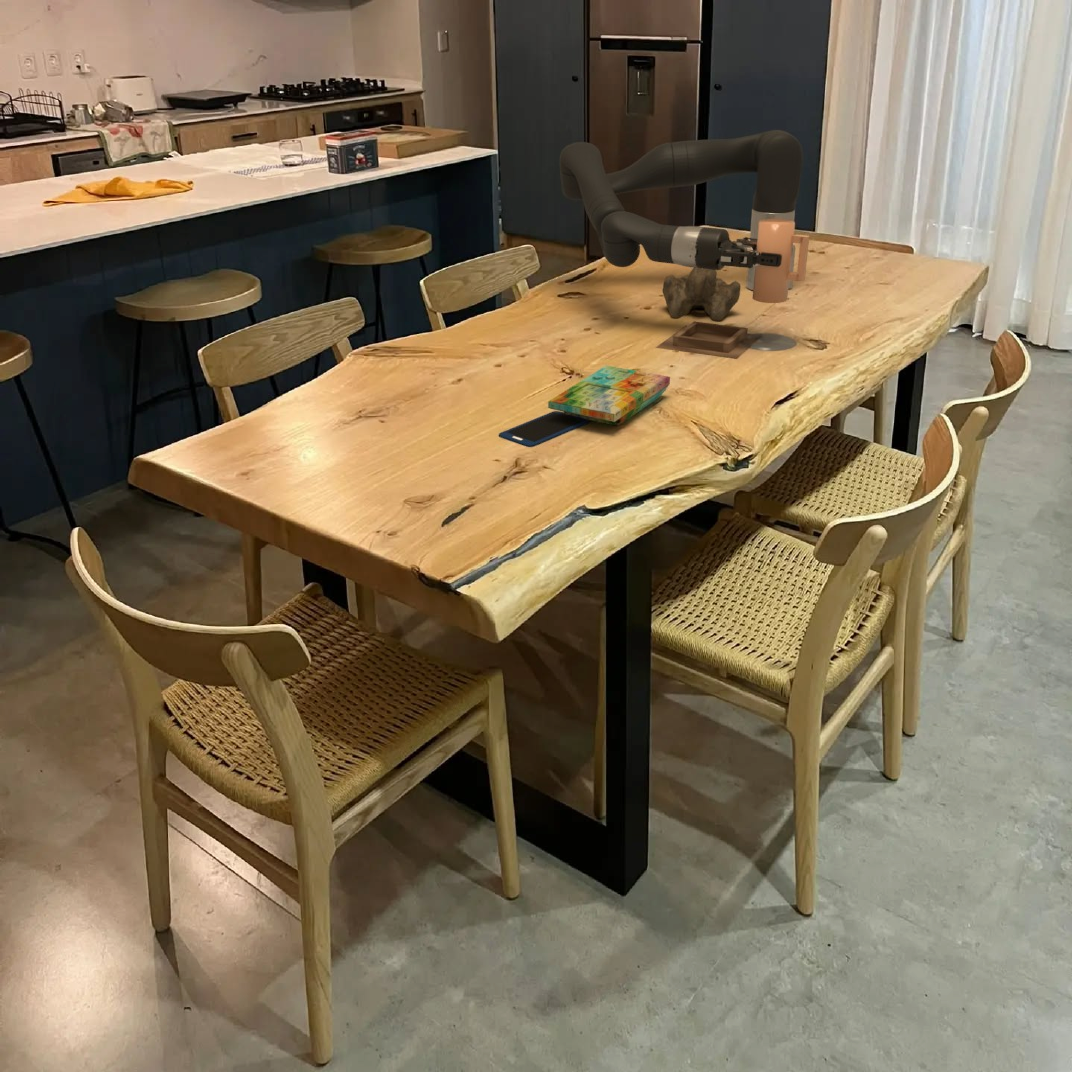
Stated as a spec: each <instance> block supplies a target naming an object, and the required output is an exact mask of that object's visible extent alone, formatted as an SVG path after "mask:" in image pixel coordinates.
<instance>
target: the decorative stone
mask: <svg viewBox="0 0 1072 1072" xmlns="http://www.w3.org/2000/svg"><path fill="white" fill-rule="evenodd" d="M717 275H718V273H717V270H711V269H702V268H694V267H692V269H691V271H690V272H689V274H687V275H684V276H681V277H680V278H679V277H678V278H677V277H676V276H675V275H672V274H669V275H668V276H666V277H665V279H664V281H663V285H662V294H663V296H664V297H663V298H664V300H665V303H666V308H667V310H668V311H669V314H670V317H671V318H673V319H679V318H680V317H683V316H687V315H689V314H690V312H691V310H692V309H701V308H703V310H704V311H705V313H706V314H707V315H708V316H709V317H710V318H711V320H712V321H716V322H721V321H722V320H723V319H724V317H725V316H727V315H728V314H729V312H730V311H731V310H732V308H733V307H734V306H735V305H736V304H737V303H738V301H739V300H740V296H741V283H740V282H739V281H736V280H735V281H733V282H731V283H729V284H728V283H727V282H726V281H724V280H723V279H722V278H719V277H718V276H717Z"/></svg>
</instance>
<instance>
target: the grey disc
mask: <svg viewBox="0 0 1072 1072" xmlns="http://www.w3.org/2000/svg"><path fill="white" fill-rule="evenodd" d="M749 334H750V335H749V336H747V338H746V340H747V339H748V340H750V339H749V338H751V337H752V338H754V339H755V338H756V339H757V338H758V340H757V342H756V340H755V342H754V344H753V343H752V344H753V345H751V344H748V343H750V342H751V341H750V342H749V341H748V342H747V341H746V340H745V339H744V340H743V341H745V342H744V343H747V344H745V345H746V347H747V346H748V345H749V346H750V345H751V347H750V348H749V349H751V350H755V351H761V352H763V351H764V352H779V351H780V352H781V351H787V350H790V349H793V348H795V347H796V346H797V344H798V343H797V341H796V340H795V339H794V338H792V337H789V336H787V335H782V334H779V333H778V334H777V333H764V332H762V333H749ZM751 334H752V335H751ZM760 335H761V336H760ZM754 336H755V337H754ZM759 338H760V339H759ZM752 342H753V341H752ZM740 344H741V345H742V346H744V347H745V345H744V344H743V342H741V343H740ZM747 348H748V347H747Z"/></svg>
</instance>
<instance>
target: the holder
mask: <svg viewBox="0 0 1072 1072" xmlns="http://www.w3.org/2000/svg"><path fill="white" fill-rule="evenodd" d="M750 334H751V335H752V334H753V333H748V327H744V326H743V327H742V326H741V327H740V326H733V325H726V324H725V325H724V324H719V323H710V322H703V321H701V322H700V321H694V320H693V321H692V322H691V323H690V324H688V325H684V326H683V327H682V328H680V329H679V330H678V331H676V332H675V333H674V334H672V335H671V336H669V337H668V338H666V339H665V340H663V342H661V343H660V344H658V345H657V346H655V348H656V349H663V350H669V351H676V352H677V351H678V352H683V353H690V354H696V355H705V356H706V355H707V356H712V357H720V358H727V359H734V360H738V359H739V358H740V357H741V356H742V355H743V354H745V352H747V351H748V350H749V349H750V347H751V345H753V344H754V342H755V340H756V342H757V340H758V338H757V339H756V338H755V339H754V338H752V337H751V338H749V339H750V340H748V339H747V340H746V338H747V336H749V335H750ZM760 336H761V335H760ZM754 337H755V336H754ZM744 339H745V340H746V341H747V342H748V341H749V342H750V341H751V342H750V343H748V344H751V345H750V346H749V345H748V346H747V347H748V348H747V347H746V345H745V344H747V343H744V342H745V341H743V340H744ZM759 339H760V338H759ZM752 341H753V342H752ZM741 342H743V344H744V345H745V347H744V346H742V345H741V344H740V343H741ZM752 343H753V344H752Z"/></svg>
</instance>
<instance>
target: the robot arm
mask: <svg viewBox="0 0 1072 1072" xmlns="http://www.w3.org/2000/svg"><path fill="white" fill-rule="evenodd" d="M803 159H804V158H803V147H802V144H801V143H800V142H799V140H798V139H797V138H796V136H793V135H792V134H791V133H790V132H787V131H785V130H781V129H772V130H768V131H763V132H760V133H756V134H751V135H747V136H741V137H734V138H727V139H726V138H725V139H722V138H721V139H715V138H714V139H711V138H710V139H697V140H696V139H695V140H692V139H691V140H683V141H672V142H665V143H662V144H659V145H657V146H656V147H654V148H653V149H651V150H649V151H648V152H647V153H646V154H644V155H643V156H641V158H639V159H637V161H635V162H634V163H633V164H631V165H629V166H628V167H625V168H623V169H622V170H618V171H615V172H611V173H606V171H605V167H604V165H603V158H602V154H601V152H600V149H599V148H598V147H597V146H596V145H594V144H593V143H590V142H585V141H578V142H573V143H570V144H568V145H566V146H565V147H564V148H563V149H562V150H561V152H560V155H559V171H560V172H559V173H560V181H561V182H560V183H561V184H560V185H561V191H562V194H563V196H564V197H565V198H566V199H569V200H572V201H583V205H584V210H585V212H586V214H587V218H588V219H589V221H590V223H591V225H592V227H593V228H594V230H595V231H596V234H597V238H598V241H599V244H600V247H601V250H602V253H603V256H604V257H605V259H606V261H607V262H608V263H610V264H611V265H612V266H615V267H618V268H627V267H630V266H632V265H633V264H634V263H636V262H637V260H638V258H639V257H640V253H641V246H642V248H643V250H644V252H645V254H646V256H647V258H648V259H649V260H650V261H652V262H656V263H661V264H662V263H663V264H671V265H674V264H675V265H679V266H682V267H686V268H687V267H688V268H702V269H711V270H716V271H721V270H723V269H724V267H733V268H744V269H746V268H747V274H746V288H747V289H749V290H750V291H753V286H754V274H755V266H759V264H760V265H764V266H773V267H779V266H780V265H781V261H782V255H781V254H776V253H766V252H762V253H761V254H760V252H759V251H757V239H758V228H759V221H760V220H763V219H787V220H791V221H794V222H795V215H796V213H795V212H796V205H797V200H798V197H799V194H800V193H799V192H800V187H801V178H802V171H803V169H802V168H803ZM749 173H750V174H753V173H754V174H756V173H757V177H756V186H755V187H756V188H755V192H754V194H753V198H752V205H751V207H752V208H751V221H750V234H749V237H747V236H746V237H743V238H737V239H736V241H735V240H733V241H732V240H731V238H730V234H729V231H727V230H726V229H724V228H716V227H704V226H696V225H688V226H681V225H669V224H660V223H659V222H656V221H653V220H651V219H649V218H646V217H643V216H641V215H638V214H635V213H633V212H629V211H626V210H625V208H624V206H623V205H622V203H621V201H620V200H619V199H618V197H617V195H620V194H625V193H632V192H638V191H639V192H640V191H647V190H655V189H668V188H669V189H670V188H671V189H672V188H679V187H681V188H682V187H689V186H690V187H691V186H694V185H699V184H703V183H706V182H710V181H713V180H716V179H719V178H722V177H725V176H728V175H734V174H735V175H736V174H749ZM795 256H796V245H795V244H793V248H792V258H791V268H790V272H794V267H795ZM792 287H793V281H792V280H789V288H788V290H789V289H792Z"/></svg>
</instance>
